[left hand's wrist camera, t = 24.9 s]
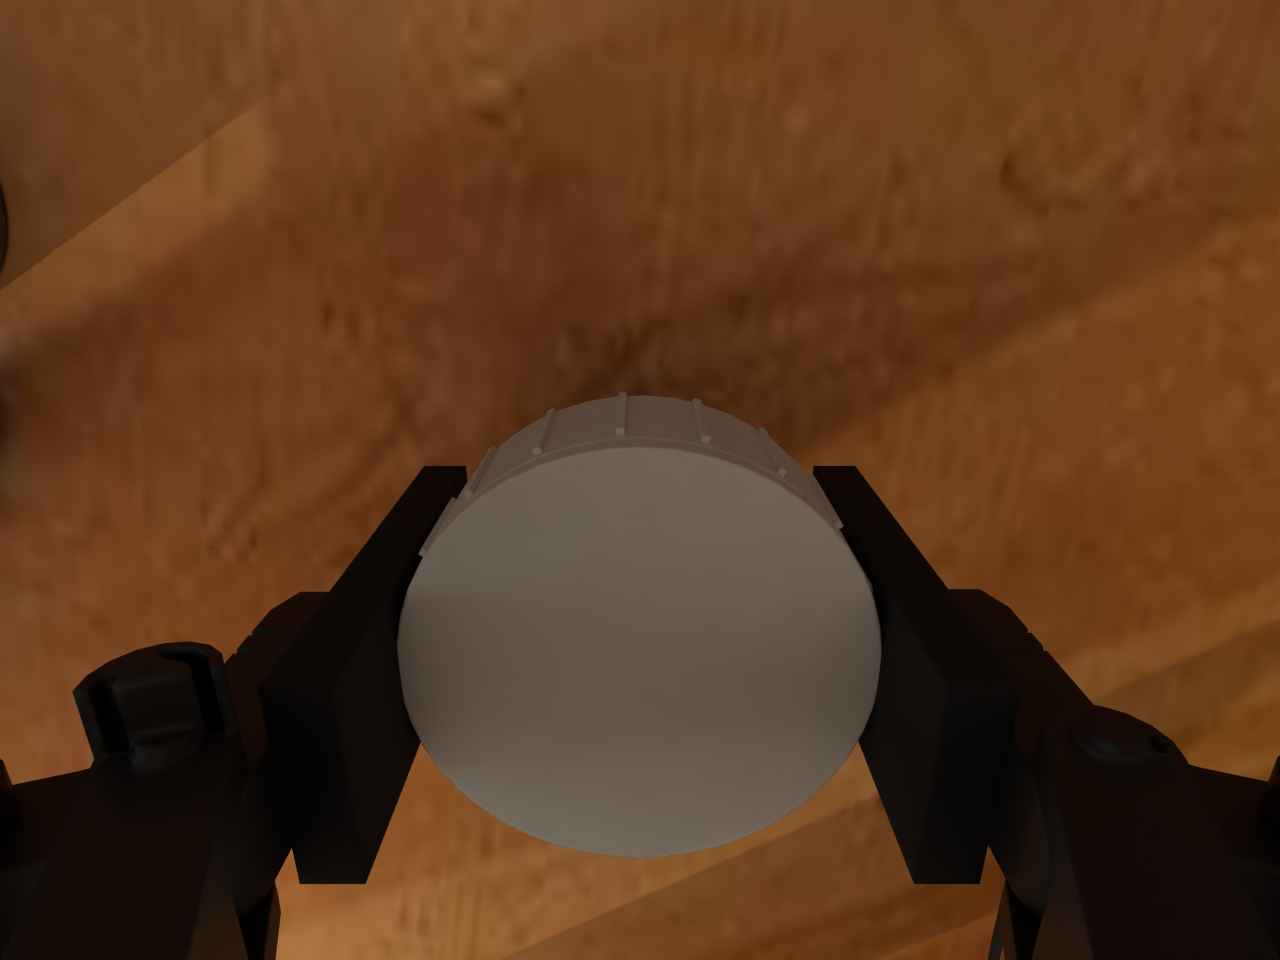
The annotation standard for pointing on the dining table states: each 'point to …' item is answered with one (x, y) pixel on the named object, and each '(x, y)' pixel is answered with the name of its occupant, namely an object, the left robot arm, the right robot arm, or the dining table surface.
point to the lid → (639, 631)
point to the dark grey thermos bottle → (2, 231)
